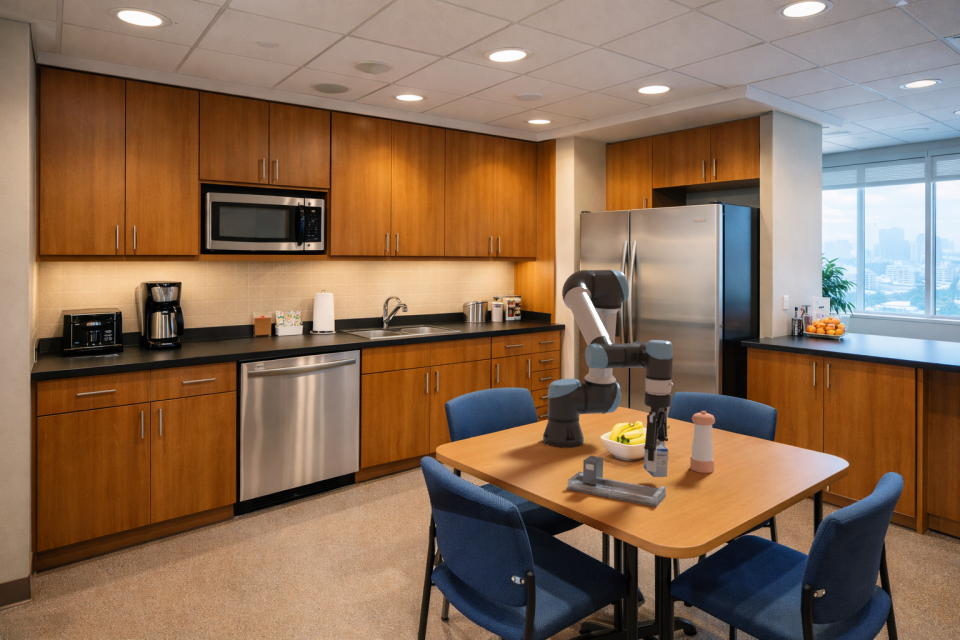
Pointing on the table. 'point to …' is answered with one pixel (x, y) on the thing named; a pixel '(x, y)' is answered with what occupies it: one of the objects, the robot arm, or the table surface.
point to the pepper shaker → (702, 443)
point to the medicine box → (659, 461)
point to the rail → (612, 485)
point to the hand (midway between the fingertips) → (655, 466)
